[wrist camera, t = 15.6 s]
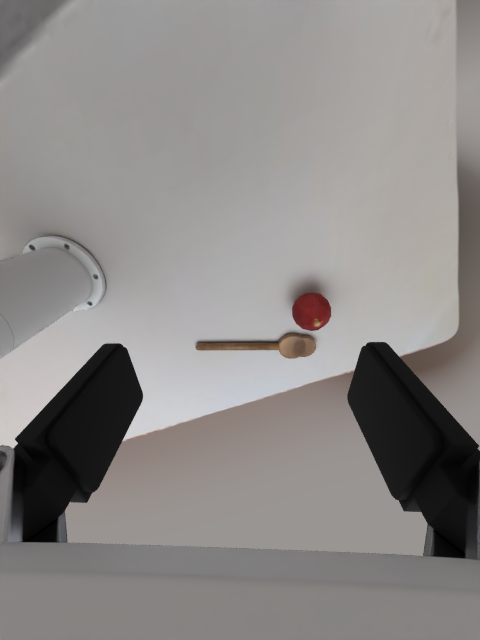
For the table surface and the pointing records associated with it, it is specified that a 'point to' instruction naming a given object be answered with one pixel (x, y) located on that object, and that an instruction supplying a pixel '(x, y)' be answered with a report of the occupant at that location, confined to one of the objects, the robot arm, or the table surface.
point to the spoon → (271, 346)
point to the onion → (311, 311)
